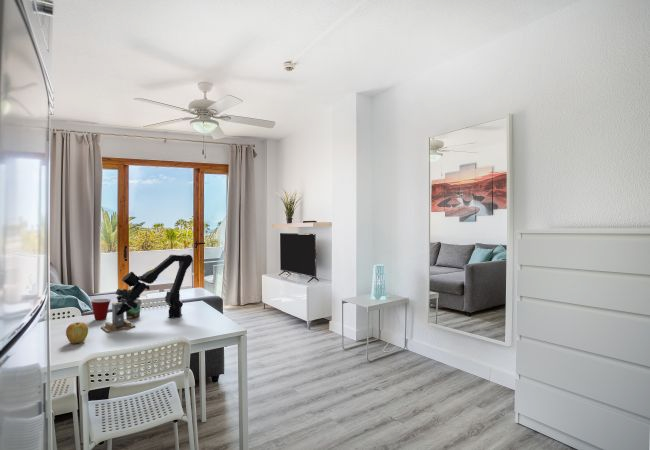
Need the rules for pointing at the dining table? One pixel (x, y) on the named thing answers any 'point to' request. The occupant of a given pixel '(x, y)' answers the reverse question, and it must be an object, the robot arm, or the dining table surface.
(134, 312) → the food container
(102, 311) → the plastic cup
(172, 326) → the dining table surface
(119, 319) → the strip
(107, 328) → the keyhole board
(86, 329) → the apple
